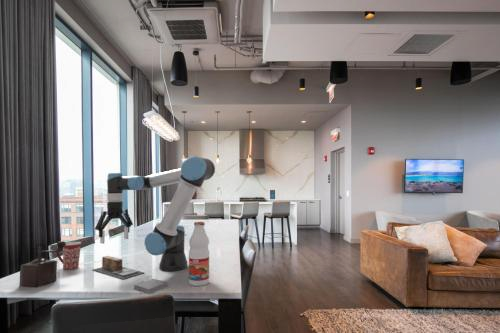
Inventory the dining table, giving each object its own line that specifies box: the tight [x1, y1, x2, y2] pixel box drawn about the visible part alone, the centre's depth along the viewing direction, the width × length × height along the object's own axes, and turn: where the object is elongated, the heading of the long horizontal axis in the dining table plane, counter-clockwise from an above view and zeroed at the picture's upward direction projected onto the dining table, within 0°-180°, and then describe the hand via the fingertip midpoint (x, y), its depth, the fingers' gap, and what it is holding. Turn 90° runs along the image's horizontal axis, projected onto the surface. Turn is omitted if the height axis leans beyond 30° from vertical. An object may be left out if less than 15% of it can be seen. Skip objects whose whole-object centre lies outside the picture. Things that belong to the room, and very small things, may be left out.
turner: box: [101, 255, 139, 277], centre depth 154 cm, size 24×8×6 cm, turn 56°
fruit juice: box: [188, 221, 210, 287], centre depth 137 cm, size 9×9×28 cm
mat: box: [92, 266, 145, 281], centre depth 154 cm, size 12×28×1 cm, turn 56°
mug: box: [55, 241, 82, 271], centre depth 162 cm, size 13×9×14 cm
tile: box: [133, 278, 168, 294], centre depth 131 cm, size 10×2×10 cm
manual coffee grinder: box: [18, 240, 67, 288], centre depth 140 cm, size 16×11×18 cm
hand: (114, 241), depth 157 cm, fingers open, 13 cm apart
